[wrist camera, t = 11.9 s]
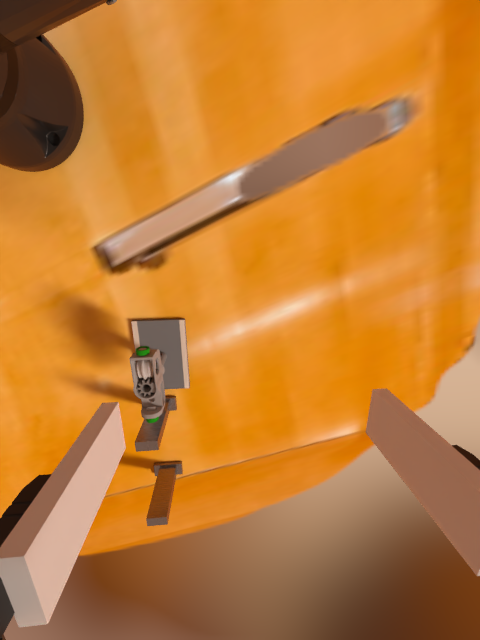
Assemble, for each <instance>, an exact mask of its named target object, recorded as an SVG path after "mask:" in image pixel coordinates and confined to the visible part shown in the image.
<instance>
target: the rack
mask: <svg viewBox="0 0 480 640" xmlns="http://www.w3.org/2000/svg"><path fill="white" fill-rule="evenodd" d="M170 410H177V404H176V396H167V397H165V406H164V409H163V412H162V414H161V415H160V416H159V419H158V420H157V421H156V422H154V423H148V422H147V421H146V419H144V421H143V424H142V426H141V428H140V431H139V433H138V436H137V438H136V441H135V447H136V451H149V450H159V446H160V443H161V439H162V436H163V432H164V429H165V425H166V422H167V418H168V414H169V411H170ZM154 471H155V476H157V479H156V483H155V487H154V491H153V495H152V499H151V503H150V507H149V511H148V515H147V526H154V525H165V524H168V519H169V513H170V508H171V502H172V496H173V491H174V485H175V479H176V474H182V472H183V469H182V461H177V462H164V463H154Z"/></svg>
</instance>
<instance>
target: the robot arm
mask: <svg viewBox="0 0 480 640" xmlns="http://www.w3.org/2000/svg"><path fill="white" fill-rule="evenodd" d="M116 1H117V0H0V164H2V165H5V166H8V167H10V168H13V169H17V170H21V171H30V172H36V171H44V170H48V169H51V168H53V167H55V166H57V165H59V164H61V163H62V162H63V161H65V160H66V159H67V158H68V157H69V156H70V155H71V154H72V152H73V151H74V149H75V148H76V146H77V144H78V142H79V139H80V136H81V133H82V128H83V103H82V98H81V94H80V90H79V87H78V84H77V82H76V79H75V77H74V75H73V73H72V71H71V69H70V68H69V66H68V64H67V63H66V62H65V60H64V59H63V57H62V56H61V55H60V54H59V52H58V51H57V50H56V49H55V48H54V47H53V45H52V44H51V43H50V42H49V41H48V40H47V38H46V37H45V36H44V35H43V34H44V33H46V32H48V31H50V30H52V29H54V28H56V27H58V26H60V25H62V24H64V23H66V22H68V21H70V20H72V19H74V18H76V17H78V16H80V15H82V14H84V13H85V12H87V11H89V10H91V9H93V8H95V7H97V6H99V5H101V4H103V3H105V2H106V3H107V4H108V5H111V4H113V3H115V2H116ZM366 433H367V435H368V436H369V437H370V438H371V440H372V441H373V442H374V444H375V445H376V446H377V448H378V449H379V450H380V451H381V452H382V454H383V455H384V457H385V458H386V459H387V460H388V462H389V463H390V464H391V466H392V467H393V468H394V469H395V471H396V472H397V473H398V475H399V476H400V477H401V478H402V480H403V481H404V482H405V484H406V485H407V486H408V487H409V489H410V490H411V491H412V493H413V494H414V495H415V497H416V498H417V499H418V500H419V502H420V503H421V504H422V506H423V507H424V508H425V510H426V511H427V512H428V513H429V515H430V516H431V517H432V519H433V520H434V521H435V522H436V524H437V525H438V526H439V528H440V529H441V530H442V532H443V533H444V534H445V535H446V537H447V538H448V539H449V541H450V542H451V543H452V544H453V546H454V547H455V548H456V550H457V551H458V552H459V553H460V555H461V556H462V557H463V558H464V560H465V561H466V563H468V565H469V566H470V567H471V569H472V570H473V572H474V573H475V574H476V575H477V576H480V460H479V459H478V458H476V457H475V456H474V455H473V454H471V453H469V452H468V451H466V450H464V449H462V448H461V447H459V446H457V445H450V444H449V443H448V442H447V441H446V440H445V439H443V438H442V437H441V436H440V435H439V434H438V433H437V432H435V431H434V430H433V429H432V428H431V427H430V426H429V425H427V424H426V423H425V422H424V421H423V420H422V419H421V418H419V417H418V416H417V415H416V414H415V413H414V412H413V411H411V410H410V409H409V408H408V407H407V406H406V405H405V404H403V403H402V402H401V401H400V400H399V399H398V398H397V397H395V396H394V395H393V394H392V393H391V392H390V391H389V390H387V389H373V391H372V397H371V403H370V409H369V416H368V422H367V428H366ZM125 448H126V447H125V440H124V434H123V428H122V422H121V415H120V409H119V403H118V402H114V403H102V404H101V406H100V407H99V408H98V410H97V411H96V413H95V414H94V416H93V417H92V418H91V420H90V421H89V423H88V424H87V425H86V427H85V428H84V430H83V431H82V432H81V434H80V435H79V437H78V438H77V440H76V441H75V442H74V444H73V445H72V447H71V448H70V449H69V451H68V452H67V454H66V455H65V456H64V458H63V459H62V461H61V462H60V464H59V465H58V466H57V468H56V469H55V471H54V472H53V473H52V474H49V475H39V476H38V477H36V478H35V479H34V480H33V481H31V482H30V483H29V484H28V485H27V486H25V487H24V488H23V489H22V491H21V492H20V493H19V494H18V496H17V497H16V498H15V500H14V501H13V502H12V505H11V506H9V507H8V508H7V510H6V511H5V512H4V514H3V515H2V518H0V640H6V639H5V637H4V635H3V633H4V632H5V630H6V628H7V626H8V624H9V622H10V621H11V618H12V617H13V615H14V616H15V619H16V621H17V623H18V626H19V627H26V626H35V625H44V624H48V622H49V620H50V618H51V615H52V613H53V611H54V609H55V606H56V604H57V602H58V600H59V597H60V595H61V593H62V591H63V588H64V586H65V584H66V581H67V579H68V577H69V575H70V572H71V570H72V568H73V565H74V563H75V561H76V559H77V557H78V554H79V552H80V550H81V548H82V545H83V543H84V541H85V539H86V536H87V534H88V532H89V530H90V527H91V525H92V523H93V521H94V518H95V516H96V514H97V511H98V509H99V507H100V505H101V502H102V500H103V498H104V496H105V493H106V491H107V489H108V487H109V484H110V482H111V480H112V478H113V475H114V473H115V471H116V469H117V466H118V464H119V462H120V460H121V457H122V455H123V453H124V451H125Z"/></svg>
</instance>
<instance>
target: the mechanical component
mask: <svg viewBox="0 0 480 640" xmlns="http://www.w3.org/2000/svg"><path fill="white" fill-rule="evenodd" d="M166 358H167V355H166V353H161V355H160V351H159V349H152V350H150V349H149V347H148V346H141V347H138V348H136V352H135V353H133V355H132V356H131V357H130V364H131V370H132V376H133V382H134V389H133V390H134V393H135V395H136V396H137V397H138V398H140V399H141V401H142V410H141V414H142V417H143V418H145V419H146V421H147V422H148V423H154V422H156V421H157V420H158V419H159V416H160V415H161V414H162V412H163V409H164V406H165V389H164V381H163V374H164V372H165V369H164V366H163V365H164V363H165V360H166ZM136 360H137V361H136Z"/></svg>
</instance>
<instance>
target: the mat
mask: <svg viewBox="0 0 480 640" xmlns="http://www.w3.org/2000/svg"><path fill="white" fill-rule="evenodd" d="M131 322H132V330H133V337H134V345H135V352H136V348H138V347H141V346H148V347H149V349H150V350H152V349H159V351H160V355H161V353H166V355H167V358H166V360H165V363H164V365H163V366H164V369H165V372H164V374H163V381H164V389H178V388H190V382H189V368H188V355H187V341H186V327H185V319H159V320H133V321H131Z"/></svg>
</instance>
